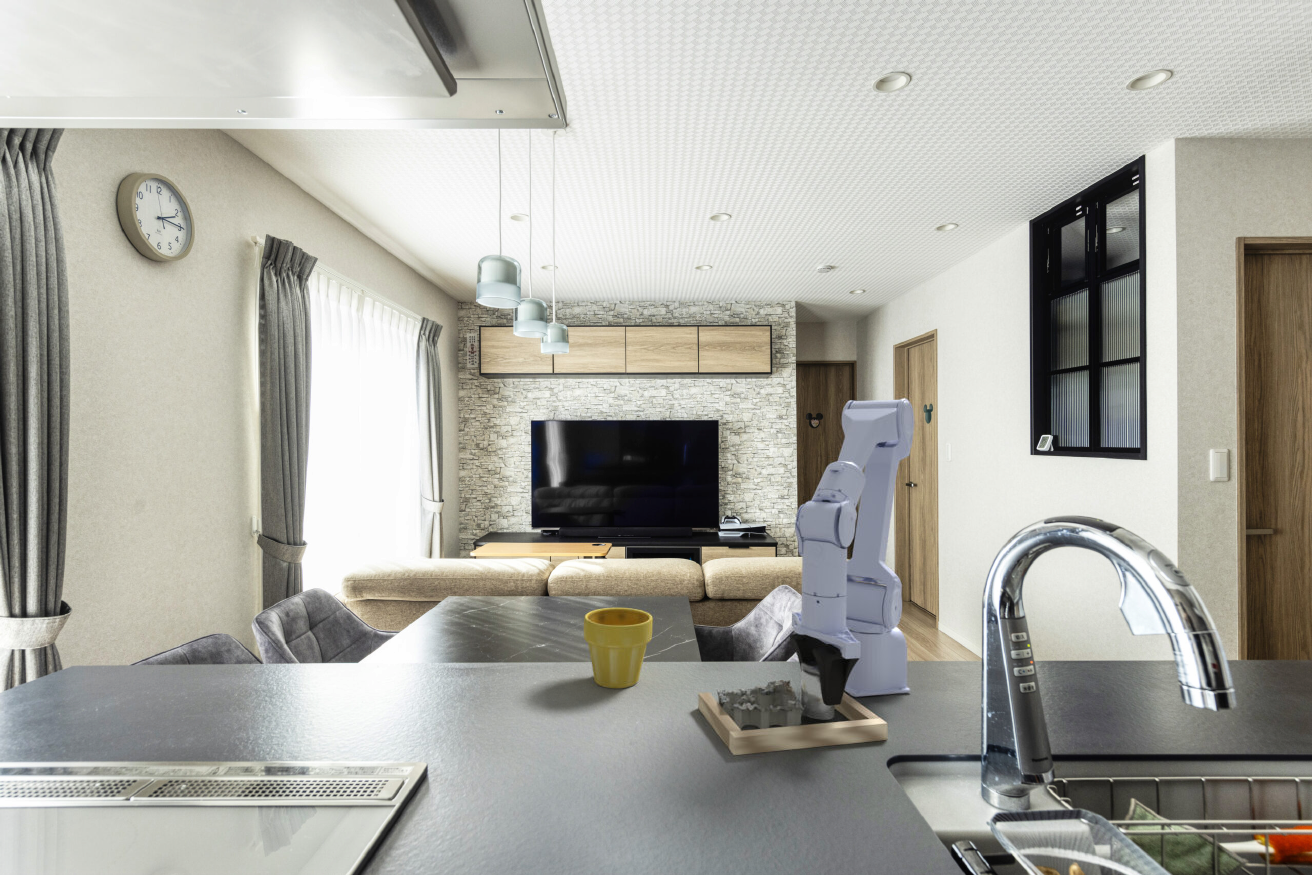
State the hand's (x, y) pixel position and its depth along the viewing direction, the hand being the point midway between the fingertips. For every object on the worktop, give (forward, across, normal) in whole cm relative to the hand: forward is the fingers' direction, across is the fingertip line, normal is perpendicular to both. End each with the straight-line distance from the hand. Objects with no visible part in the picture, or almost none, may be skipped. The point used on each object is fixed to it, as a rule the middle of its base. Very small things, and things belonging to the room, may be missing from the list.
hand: (822, 696), depth 82 cm
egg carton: (+3, -2, -8) cm, 9 cm away
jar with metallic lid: (+2, 0, -1) cm, 2 cm away
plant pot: (+3, -18, -24) cm, 30 cm away
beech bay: (+3, 0, -5) cm, 6 cm away
